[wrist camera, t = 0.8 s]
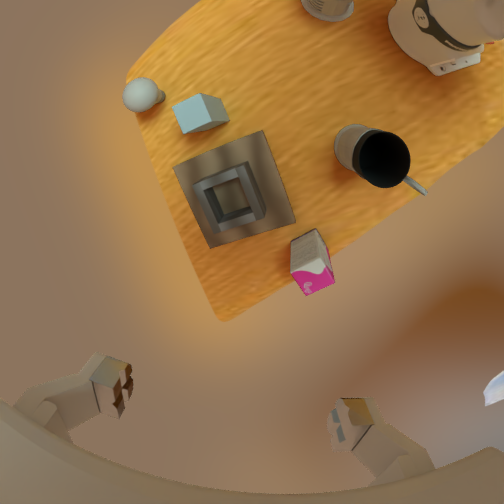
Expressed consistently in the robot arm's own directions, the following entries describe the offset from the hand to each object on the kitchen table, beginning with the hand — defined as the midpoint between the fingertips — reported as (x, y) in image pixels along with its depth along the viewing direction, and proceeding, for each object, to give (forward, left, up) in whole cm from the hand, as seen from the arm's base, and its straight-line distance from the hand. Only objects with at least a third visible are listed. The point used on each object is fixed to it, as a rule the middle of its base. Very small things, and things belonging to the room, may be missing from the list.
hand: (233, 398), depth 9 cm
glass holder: (-17, +2, -44) cm, 47 cm away
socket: (+9, +1, -43) cm, 44 cm away
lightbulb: (+15, -22, -44) cm, 51 cm away
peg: (+7, -14, -43) cm, 46 cm away
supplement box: (-1, +16, -44) cm, 46 cm away
